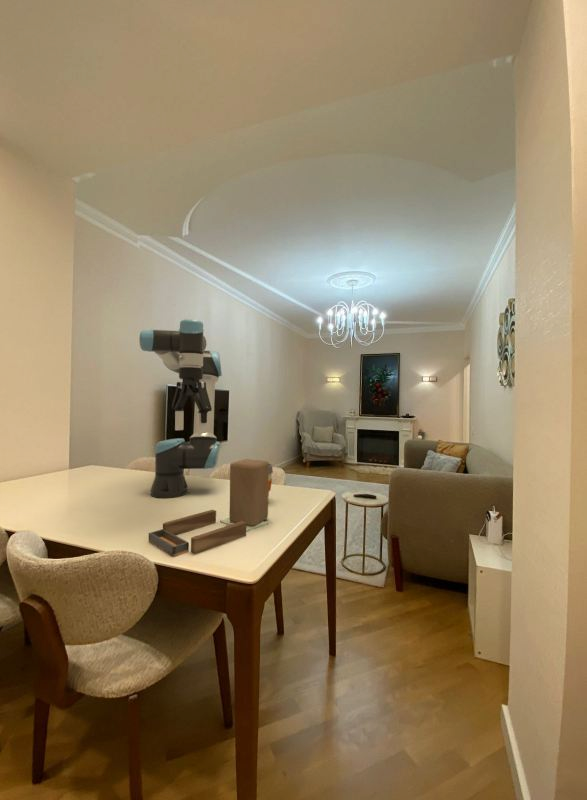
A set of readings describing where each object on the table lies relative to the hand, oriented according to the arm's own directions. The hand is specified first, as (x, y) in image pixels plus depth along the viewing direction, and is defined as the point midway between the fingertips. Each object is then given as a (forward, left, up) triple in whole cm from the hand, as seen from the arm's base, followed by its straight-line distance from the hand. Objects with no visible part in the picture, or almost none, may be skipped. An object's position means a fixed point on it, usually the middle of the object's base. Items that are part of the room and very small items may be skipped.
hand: (190, 431), depth 117 cm
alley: (+12, -2, -31) cm, 33 cm away
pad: (+12, +13, -31) cm, 36 cm away
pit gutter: (+11, -14, -31) cm, 35 cm away
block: (+12, +16, -30) cm, 36 cm away
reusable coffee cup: (-2, +32, -31) cm, 45 cm away
